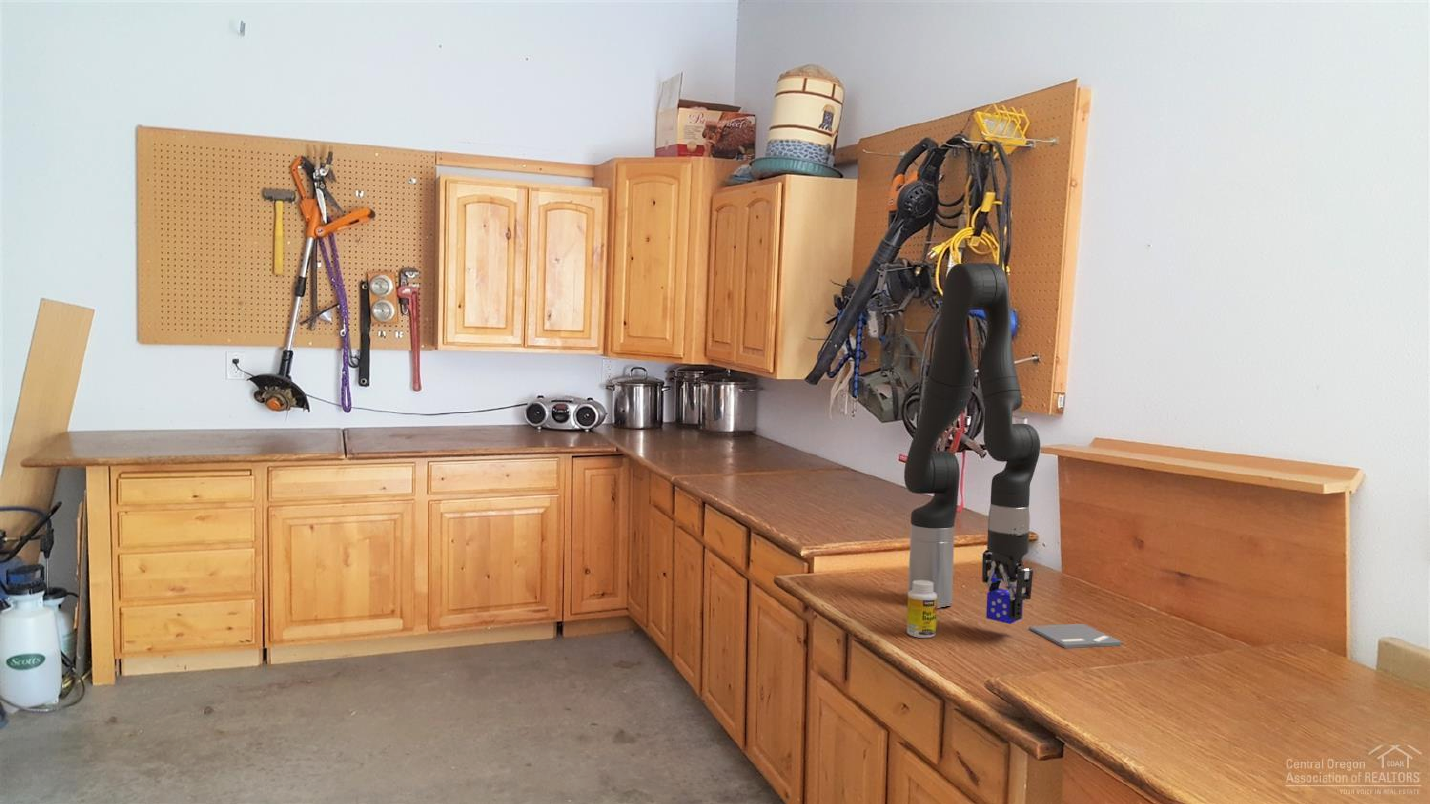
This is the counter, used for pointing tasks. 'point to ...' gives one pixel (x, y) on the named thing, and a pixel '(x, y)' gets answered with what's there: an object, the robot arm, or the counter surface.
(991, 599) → the die
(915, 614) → the supplement bottle
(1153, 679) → the counter surface
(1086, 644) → the tile
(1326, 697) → the counter surface
